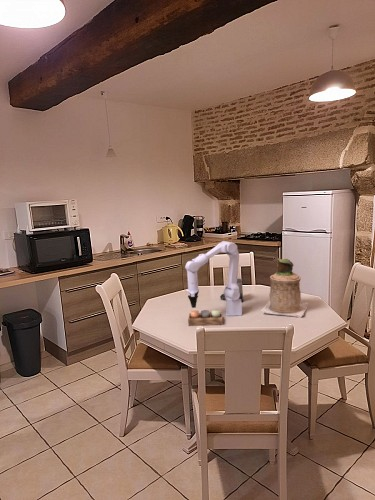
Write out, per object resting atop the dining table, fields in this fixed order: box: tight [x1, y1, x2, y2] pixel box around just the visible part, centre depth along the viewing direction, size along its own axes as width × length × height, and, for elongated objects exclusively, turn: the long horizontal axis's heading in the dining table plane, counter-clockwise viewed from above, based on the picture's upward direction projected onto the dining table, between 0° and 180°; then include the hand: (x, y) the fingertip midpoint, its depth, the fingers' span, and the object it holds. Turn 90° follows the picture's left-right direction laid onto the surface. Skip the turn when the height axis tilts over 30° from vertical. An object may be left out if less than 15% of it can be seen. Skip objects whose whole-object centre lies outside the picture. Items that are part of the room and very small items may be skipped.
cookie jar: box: [260, 258, 308, 318], centre depth 211 cm, size 25×25×32 cm
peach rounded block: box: [190, 310, 200, 318], centre depth 201 cm, size 5×5×4 cm
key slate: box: [200, 309, 210, 318], centre depth 201 cm, size 5×5×4 cm
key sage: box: [211, 309, 221, 318], centre depth 200 cm, size 5×5×4 cm
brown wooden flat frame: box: [187, 311, 224, 327], centre depth 201 cm, size 19×12×3 cm, turn 86°
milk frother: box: [219, 277, 244, 303], centre depth 236 cm, size 14×16×15 cm
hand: (194, 305), depth 200 cm, fingers open, 7 cm apart
